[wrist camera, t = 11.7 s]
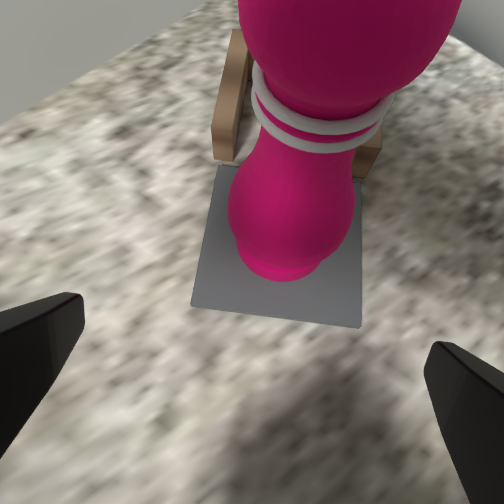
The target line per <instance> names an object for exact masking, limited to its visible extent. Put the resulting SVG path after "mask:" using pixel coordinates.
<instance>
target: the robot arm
mask: <svg viewBox="0 0 504 504" xmlns="http://www.w3.org/2000/svg"><path fill="white" fill-rule="evenodd" d="M84 326H85V314H84V301H83V297H82V296H81V295H80V294H78V293H70V292H63V293H60V294H56V295H53V296H50V297H47V298H43V299H40V300H37V301H34V302H30V303H27V304H24V305H21V306H18V307H14V308H11V309H8V310H5V311H1V312H0V459H1V457H2V456H3V455H4V453H5V452H6V450H7V449H8V447H9V446H10V445H11V443H12V442H13V440H14V439H15V437H16V436H17V435H18V433H19V432H20V430H21V429H22V428H23V426H24V425H25V423H26V422H27V420H28V419H29V418H30V416H31V415H32V413H33V412H34V410H35V409H36V408H37V406H38V405H39V403H40V402H41V400H42V399H43V398H44V396H45V395H46V393H47V392H48V391H49V389H50V388H51V386H52V385H53V383H54V382H55V380H56V378H57V377H58V375H59V373H60V371H61V370H62V368H63V366H64V364H65V362H66V361H67V359H68V357H69V355H70V353H71V352H72V350H73V348H74V346H75V344H76V343H77V341H78V339H79V337H80V335H81V334H82V332H83V329H84ZM424 378H425V381H426V385H427V388H428V391H429V395H430V398H431V401H432V405H433V408H434V412H435V415H436V418H437V422H438V425H439V428H440V431H441V434H442V436H443V439H444V442H445V444H446V447H447V449H448V452H449V454H450V456H451V459H452V461H453V464H454V466H455V468H456V471H457V473H458V476H459V478H460V481H461V483H462V485H463V488H464V490H465V493H466V495H467V497H468V500H469V502H470V504H504V373H503V372H501V371H500V370H498V369H496V368H495V367H493V366H491V365H490V364H488V363H486V362H485V361H483V360H481V359H479V358H478V357H476V356H474V355H473V354H471V353H469V352H468V351H466V350H464V349H463V348H461V347H459V346H457V345H456V344H454V343H451V342H443V341H436V342H434V343H433V345H432V347H431V350H430V352H429V355H428V358H427V361H426V363H425V366H424Z"/></svg>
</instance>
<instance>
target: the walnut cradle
mask: <svg viewBox="0 0 504 504" xmlns="http://www.w3.org/2000/svg"><path fill="white" fill-rule="evenodd" d="M254 61H255V59H254V58H253V56H252V55H251V53H250V52H249V50H248V49H247V46H246V43H245V40H244V36H243V33H242V30H237V29H233V30H232V35H231V39H230V44H229V48H228V53H227V57H226V62H225V66H224V71H223V75H222V80H221V84H220V89H219V93H218V98H217V102H216V107H215V111H214V116H213V120H212V125H211V133H212V143H213V154H214V159H217V160H225V161H233V157H234V152H235V146H236V141H237V135H238V130H239V124H240V119H241V113H242V108H243V102H244V97H245V91H246V85H247V80H249V81H253V79H252V69H253V65H254ZM381 149H382V143H381V126H380V128H379V129H378V130H377V132H376V133H375V134H374V135H373V136H372V137H371V138H370V139H369V140H367V141H366V142H365V143H363V144H361V145H359V146H357V147H356V149H355V152H354V155H353V158H352V165H351V173H352V177H360V178H365V177H366V175H367V173H368V172H369V170H370V168H371V166H372V165H373V163H374V161H375V159H376V157H377V156H378V154H379V152H380V150H381Z"/></svg>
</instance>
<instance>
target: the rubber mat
mask: <svg viewBox="0 0 504 504" xmlns="http://www.w3.org/2000/svg"><path fill="white" fill-rule="evenodd" d="M238 169H239V168H238V167H230V166H222V165H218V168H217V173H216V178H215V183H214V188H213V193H212V198H211V203H210V208H209V213H208V218H207V223H206V228H205V233H204V238H203V243H202V248H201V253H200V258H199V263H198V268H197V273H196V278H195V283H194V288H193V293H192V298H191V303H190V305H191V306H192V307H199V308H207V309H214V310H222V311H229V312H237V313H245V314H252V315H260V316H267V317H275V318H282V319H290V320H297V321H305V322H313V323H320V324H328V325H335V326H343V327H350V328H360V327H361V183H357V182H353V186H354V192H355V206H354V216H353V219H352V222H351V226H350V228H349V230H348V232H347V235H346V237H345V238H344V240H343V242H342V244H341V245H340V246H339V247H338V249H337V250H336V251H335V252H333V253H332V254H331V255H330V256H329V257H327V258H326V259H324V260H322V261H321V262H320V264H319V265H318V267H317V268H316V269H315V270H314V271H312V272H311V273H310V274H309V275H307V276H305V277H303V278H301V279H298V280H295V281H290V282H276V281H271V280H268V279H265V278H263V277H260V276H259V275H257V274H255V273H254V272H253V271H251V270H250V269H249V268H248V267H247V266H246V265H245V263H244V262H243V261H242V259H241V257H240V255H239V252H238V250H237V245H236V238H235V236H234V234H233V232H232V230H231V228H230V224H229V220H228V211H227V205H228V196H229V191H230V187H231V184H232V181H233V179H234V177H235V175H236V173H237V171H238Z"/></svg>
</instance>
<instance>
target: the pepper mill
mask: <svg viewBox="0 0 504 504" xmlns="http://www.w3.org/2000/svg"><path fill="white" fill-rule="evenodd" d="M461 1H462V0H238V8H239V22H240V26H241V29H242V33H243V36H244V40H245V43H246V46H247V49H248V50H249V52H250V53H251V55H252V56H253V58H254V59H255V61H254V65H253V69H252V79H253V86H252V91H251V101H252V106H253V110H254V113H255V115H256V117H257V119H258V120H259V122H260V123H261V130H260V134H259V139H258V141H257V143H256V146H255V148H254V150H253V151H252V153H251V154H250V155H249V156H248V157H247V158H246V160H245V161H244V162H243V163H242V164H241V166H240V167H239V169H238V171H237V173H236V175H235V177H234V179H233V181H232V184H231V187H230V191H229V196H228V205H227V211H228V220H229V224H230V228H231V230H232V232H233V234H234V236H235V238H236V245H237V250H238V252H239V255H240V257H241V259H242V261H243V262H244V263H245V265H246V266H247V267H248V268H249V269H250V270H251V271H253V272H254V273H255V274H257V275H259V276H260V277H263V278H265V279H268V280H271V281H276V282H290V281H295V280H298V279H301V278H303V277H305V276H307V275H309V274H310V273H311V272H312V271H314V270H315V269H316V268H317V267H318V265H319V264H320V262H321V261H322V260H324V259H326V258H327V257H329V256H330V255H331V254H332V253H333V252H335V251H336V250H337V249H338V247H339V246H340V245H341V244H342V242H343V240H344V238H345V237H346V235H347V232H348V230H349V228H350V226H351V222H352V219H353V216H354V206H355V192H354V186H353V180H352V173H351V165H352V158H353V155H354V152H355V149H356V147H357V146H359V145H361V144H363V143H365V142H366V141H367V140H369V139H370V138H371V137H372V136H373V135H374V134H375V133H376V132H377V130H378V129H379V128H380V126H381V124H382V121H383V119H384V116H385V114H386V113H387V111H388V109H389V108H390V106H391V105H392V102H393V100H394V97H395V91H397V90H399V89H400V88H402V87H404V86H406V85H408V84H409V83H410V82H412V81H413V80H414V79H415V78H416V77H417V76H418V75H420V74H421V73H422V72H423V71H424V70H425V68H426V67H427V66H428V65H429V63H430V62H431V61H432V60H433V58H434V57H435V55H436V54H437V52H438V51H439V49H440V47H441V46H442V44H443V43H444V41H445V40H446V38H447V36H448V34H449V32H450V30H451V28H452V26H453V24H454V21H455V18H456V15H457V12H458V10H459V7H460V4H461Z"/></svg>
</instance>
